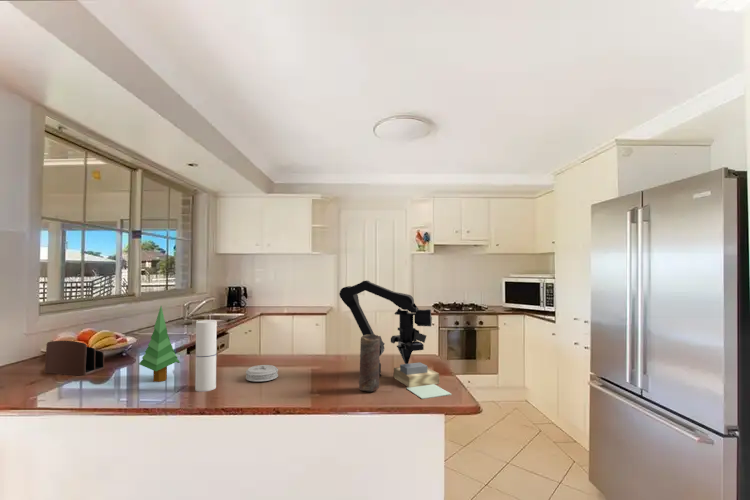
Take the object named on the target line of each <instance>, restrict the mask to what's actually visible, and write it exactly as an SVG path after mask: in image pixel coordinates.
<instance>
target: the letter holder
mask: <svg viewBox="0 0 750 500" xmlns="http://www.w3.org/2000/svg"><path fill="white" fill-rule="evenodd" d="M104 369H105V354H104V352H103V351H102V350H97V349H95V348H93V347H91V346H87V344H86V343H84V342H81V341H75V340H74V341H73V340H53V341H48V342H47V343H46V350H45V364H44V373H45V374H53V375H67V376H68V375H71V376H84V377H85V376H87V375H92V374H94V373H97V372H100V371H103V370H104Z"/></svg>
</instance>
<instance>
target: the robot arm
mask: <svg viewBox="0 0 750 500" xmlns="http://www.w3.org/2000/svg"><path fill="white" fill-rule="evenodd" d="M364 291H366V292H369V293H371V294H374V295H375V296H377V297H381V298H383V299H385V300H387V301H389V302H391V303H393V304H394V305H395V306H397V307H398V308H397V310H396V311H395V312H394V315H395V316H396V315H397V316H398V315H399V327H397V331H399V334H398V335H397V334H395V335H392V336H391V337H390V343H391V344H395V343H398V344H397V345H396V348H397V350H398V352H399V354H400V356H401V358H402V360H403V363H404V364H409V361H410V359H411V356H412V353H413V352H415V351H424V350H425V349H424V347H425V346H424V343H425V342H426V340H427V335H426V334H423V333H420V330H419V329H416V327H414V324H415V325H416V326H417V327H432V325H433V324H432V323H433V322H432V321H433V317H432V310H431V309H419V307H418V306H417V305H416V303H415V299H414V297H413V296H412V295H411V294H407V293H402V292H397V291H393V290H390V289H388V288H386V287H384V286H382V285H378V284H376V283H375V282H374V283H373V282H371V281H370V280H367V279H366V280H363V281H361V282H359V283H357V284H355V285H352V286H351V285H349V286H345V287H342V288H341V289H340V290H339V293H338V295H339V297H340V298H339V299H341V301H342V302H343V303H344V304H345V305H346V306H347V308H348V309H349V310H350V311H351V314H352V316H353V317H354V320H355V321H356V324H357V326H358V328H359V330H360V332H361V334H362V336H364V335H367V334H368V335H369V334H370V335H371V334H373V335H376V334H375V333H374V332H373V329H372V326H371V325H370V323H369V321H368V319H367V317H366V315H365V313H364V310H363V309H362V307H361V305H360V299H359V294H361V293H362V292H364ZM378 336H379V337H380V356H381V355H383V353H384V351H385V342H383V340H382V337H381V335H378ZM380 356H379V358H380ZM381 369H382V364H381V360H380V359H379V377H381V376H382V370H381Z"/></svg>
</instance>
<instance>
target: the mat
mask: <svg viewBox="0 0 750 500" xmlns="http://www.w3.org/2000/svg"><path fill="white" fill-rule="evenodd" d="M406 390H408V391H409V392H411V393H412V394H414V395H415V396H417V397H418V398H420V399H421V400H425V399H432V398H438V397H439V398H440V397H445V396H446V397H447V396H452V393H451V392H449V391H447V390H445V389H443V388H442V387H441V386H439V385H438V384H432V385H425V386H417V387H410V388H409V387H406Z"/></svg>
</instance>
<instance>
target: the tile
mask: <svg viewBox="0 0 750 500" xmlns="http://www.w3.org/2000/svg"><path fill="white" fill-rule="evenodd" d="M399 367H400V371H401V372H403V373H405V374H406V375H410V374H419V373H427V372H428V368H429V367H428V365H427V364H425V363H422V362H413V363H412V362H411V363H408V364H405V363H404V364H403V363H401V364H399Z"/></svg>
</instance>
